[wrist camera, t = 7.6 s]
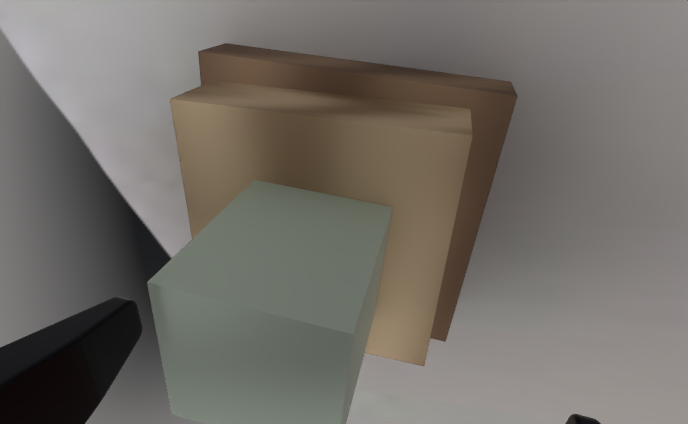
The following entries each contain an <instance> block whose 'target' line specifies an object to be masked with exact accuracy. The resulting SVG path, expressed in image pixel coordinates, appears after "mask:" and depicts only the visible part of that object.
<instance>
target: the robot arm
mask: <svg viewBox="0 0 688 424" xmlns="http://www.w3.org/2000/svg"><path fill="white" fill-rule="evenodd" d="M141 333H142V323H141V319H140V314H139V310H138V306H137V304H136V302H135V301H134V300H131V299H127V298H123V297H114V298H112V299H109V300H107V301H105V302H103V303H100V304H98V305H96V306H93V307H91V308H89V309H87V310H84V311H82V312H80V313H77V314H75V315H73V316H71V317H68V318H66V319H64V320H62V321H59V322H57V323H55V324H53V325H51V326H48V327H46V328H44V329H41V330H39V331H37V332H35V333H32V334H30V335H28V336H25V337H23V338H21V339H19V340H17V341H14V342H12V343H10V344H7V345H5V346H3V347H1V348H0V424H85V423H86V421H87V420H88V419H89V417H90V416H91V415H92V413H93V412H94V410H95V409H96V408H97V406H98V405H99V403H100V402H101V400H102V399H103V397H104V396H105V394H106V393H107V391H108V389H109V388H110V386H111V384H112V383H113V381H114V380H115V378H116V376H117V375H118V373H119V371H120V370H121V368H122V366H123V365H124V363H125V361H126V360H127V358H128V356H129V355H130V353H131V351H132V350H133V348H134V346H135V345H136V343H137V341H138V340H139V338H140V336H141ZM566 424H601V423H600V422H598V421H597V420H596V419H593V418H590V417H586V416H582V415H578V414H573V415H571V416H570V417H569V419H568V420H567V422H566Z"/></svg>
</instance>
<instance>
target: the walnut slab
mask: <svg viewBox="0 0 688 424" xmlns="http://www.w3.org/2000/svg"><path fill="white" fill-rule="evenodd" d="M198 54H199V65H200V76H201V86H202V85H204V84H207V83H209V82H211V81H214V80H215V81H224V82H233V83H242V84H251V85H260V86H269V87H278V88H287V89H296V90H305V91H314V92H323V93H332V94H341V95H350V96H359V97H368V98H377V99H386V100H395V101H404V102H413V103H422V104H431V105H441V106H450V107H459V108H468V109H471V122H472V135H473V136H472V141H471V146H470V150H469V155H468V160H467V165H466V169H465V174H464V179H463V184H462V188H461V193H460V198H459V203H458V208H457V212H456V217H455V222H454V227H453V231H452V236H451V241H450V246H449V250H448V255H447V260H446V265H445V269H444V274H443V279H442V284H441V288H440V293H439V298H438V303H437V307H436V312H435V317H434V322H433V326H432V331H431V336H430V338H433V339H437V340H441V341H446V338H447V335H448V331H449V328H450V324H451V321H452V318H453V314H454V311H455V307H456V304H457V300H458V297H459V294H460V290H461V287H462V283H463V280H464V277H465V273H466V270H467V266H468V263H469V259H470V256H471V253H472V249H473V246H474V242H475V239H476V236H477V232H478V229H479V225H480V222H481V218H482V215H483V212H484V208H485V205H486V201H487V198H488V195H489V191H490V188H491V184H492V181H493V177H494V174H495V171H496V167H497V164H498V160H499V157H500V154H501V150H502V147H503V143H504V140H505V136H506V133H507V130H508V126H509V123H510V119H511V116H512V113H513V109H514V106H515V102H516V99H517V94H516V92H515V90H514V88H513V86H512V84H511V82H509V81H501V80H494V79H486V78H479V77H471V76H464V75H457V74H449V73H442V72H434V71H427V70H419V69H412V68H404V67H397V66H389V65H382V64H375V63H367V62H360V61H352V60H345V59H337V58H330V57H322V56H315V55H307V54H300V53H293V52H285V51H278V50H270V49H263V48H255V47H248V46H240V45H233V44H223V45H219V46H216V47H212V48H209V49H205V50H202V51H198Z"/></svg>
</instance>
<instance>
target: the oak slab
mask: <svg viewBox="0 0 688 424" xmlns="http://www.w3.org/2000/svg"><path fill="white" fill-rule="evenodd" d="M170 103H171V109H172V116H173V122H174V128H175V134H176V141H177V147H178V153H179V159H180V165H181V172H182V178H183V184H184V190H185V197H186V203H187V209H188V215H189V222H190V228H191V234H192V239H193V238H194V237H195V236H196V235H197V234H198V233H199V232H201V231H202V230H203V229H204V228H205V227H206V226H207V225H208V224H209V223H210V222H211V221H212V220H213V219H214V218H215V217H216V216H217V215H218V214H219V213H220V212H221V211H223V210H224V209H225V208H226V207H227V206H228V205H229V204H230V203H231V202H232V201H233V200H234V199H235V198H236V197H237V196H238V195H239V194H240V193H241V192H242V191H243V190H245V189H246V188H247V187H248V186H249V185H250V184H251V183H252V182H253V181H254V180H258V181H263V182H268V183H273V184H279V185H284V186H289V187H294V188H299V189H304V190H309V191H314V192H319V193H324V194H329V195H334V196H340V197H345V198H350V199H355V200H360V201H365V202H370V203H375V204H380V205H385V206H390V207H393V208H392V214H391V220H390V226H389V232H388V238H387V243H386V249H385V255H384V261H383V267H382V273H381V279H380V285H379V290H378V296H377V302H376V308H375V314H374V319H373V322H372V326H371V330H370V334H369V338H368V341H367V345H366V349H365V353H368V354H372V355H377V356H381V357H385V358H390V359H394V360H399V361H403V362H408V363H412V364H417V365H421V366H424V365H425V360H426V355H427V350H428V346H429V341H430V336H431V331H432V326H433V322H434V317H435V312H436V307H437V303H438V298H439V293H440V288H441V284H442V279H443V274H444V269H445V265H446V260H447V255H448V250H449V246H450V241H451V236H452V231H453V227H454V222H455V217H456V212H457V208H458V203H459V198H460V193H461V188H462V184H463V179H464V174H465V169H466V165H467V160H468V155H469V150H470V146H471V141H472V136H473V135H472V122H471V109H468V108H459V107H450V106H441V105H431V104H422V103H413V102H404V101H395V100H386V99H377V98H368V97H359V96H350V95H341V94H332V93H323V92H314V91H305V90H296V89H287V88H278V87H269V86H260V85H251V84H242V83H233V82H224V81H215V80H214V81H211V82H209V83H207V84H204V85H202V86H200V87H197V88H195V89H192V90H190V91H188V92H185V93H183V94H181V95H178V96H176V97H173V98H171V99H170Z"/></svg>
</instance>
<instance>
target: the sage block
mask: <svg viewBox="0 0 688 424" xmlns="http://www.w3.org/2000/svg"><path fill="white" fill-rule="evenodd" d="M392 208H393V207H390V206H385V205H380V204H375V203H370V202H365V201H360V200H355V199H350V198H345V197H340V196H334V195H329V194H324V193H319V192H314V191H309V190H304V189H299V188H294V187H289V186H284V185H279V184H273V183H268V182H263V181H258V180H254V181H253V182H252V183H251V184H250V185H249V186H248V187H247V188H246V189H245V190H243V191H242V192H241V193H240V194H239V195H238V196H237V197H236V198H235V199H234V200H233V201H232V202H231V203H230V204H229V205H228V206H227V207H226V208H225V209H224V210H223V211H221V212H220V213H219V214H218V215H217V216H216V217H215V218H214V219H213V220H212V221H211V222H210V223H209V224H208V225H207V226H206V227H205V228H204V229H203V230H202V231H201V232H199V233H198V234H197V235H196V236H195V237H194V238H193V239H192V240H191V241H190V242H189V243H188V244H187V245H186V246H185V247H184V248H183V249H182V250H181V251H180V252H179V253H177V254H176V255H175V256H174V257H173V258H172V259H171V260H170V261H169V262H168V263H167V264H166V265H165V266H164V267H163V268H162V269H161V270H160V271H159V272H158V273H157V274H156V275H155V276H153V277H152V278H151V279H150V280H149V281H148V282H147V284H148V290H149V295H150V300H151V306H152V310H153V315H154V321H155V327H156V332H157V338H158V343H159V348H160V354H161V359H162V365H163V370H164V375H165V381H166V386H167V391H168V397H169V402H170V407H171V412H172V414H173V415H176V416H179V417H182V418H186V419H189V420H192V421H195V422H199V423H202V424H346V421H347V417H348V413H349V410H350V406H351V402H352V398H353V394H354V391H355V387H356V383H357V379H358V376H359V372H360V368H361V364H362V360H363V357H364V353H365V349H366V345H367V341H368V338H369V334H370V330H371V326H372V322H373V319H374V314H375V308H376V302H377V296H378V290H379V285H380V279H381V273H382V267H383V261H384V255H385V249H386V243H387V238H388V232H389V226H390V220H391V214H392Z"/></svg>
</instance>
